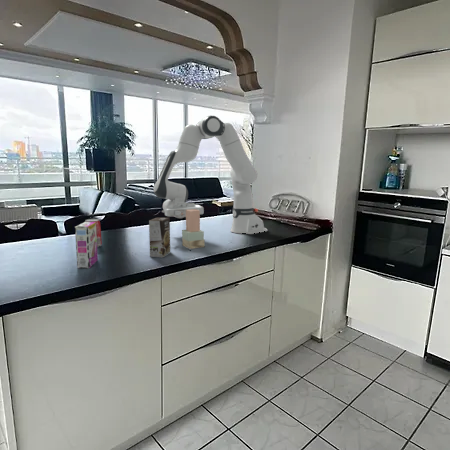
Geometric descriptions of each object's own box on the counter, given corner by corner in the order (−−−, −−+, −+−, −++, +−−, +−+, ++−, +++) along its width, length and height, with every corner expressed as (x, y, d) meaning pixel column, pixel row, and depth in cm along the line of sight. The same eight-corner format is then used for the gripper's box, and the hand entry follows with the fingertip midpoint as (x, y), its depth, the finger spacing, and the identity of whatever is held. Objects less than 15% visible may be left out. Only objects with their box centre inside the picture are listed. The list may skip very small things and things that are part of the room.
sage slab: (197, 236, 168) (197, 228, 168) (203, 239, 161) (203, 231, 161) (182, 237, 165) (182, 229, 164) (188, 241, 158) (188, 233, 157)
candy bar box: (90, 268, 128) (87, 226, 125) (77, 268, 128) (73, 226, 125) (98, 260, 139) (96, 221, 136) (86, 260, 139) (83, 221, 136)
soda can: (105, 245, 164) (103, 219, 161) (94, 248, 157) (93, 221, 155) (93, 244, 166) (91, 218, 163) (82, 247, 159) (80, 220, 157)
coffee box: (163, 257, 143) (162, 220, 140) (149, 256, 145) (148, 220, 142) (171, 252, 152) (170, 217, 149) (157, 251, 153) (156, 216, 150)
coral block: (195, 228, 166) (195, 208, 164) (199, 230, 161) (199, 210, 159) (186, 230, 163) (185, 209, 161) (190, 232, 159) (190, 211, 157)
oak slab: (197, 244, 169) (197, 236, 169) (204, 247, 163) (204, 239, 162) (182, 245, 165) (182, 238, 164) (189, 249, 158) (189, 241, 158)
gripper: (160, 204, 171) (170, 208, 160) (196, 202, 181) (208, 205, 170) (160, 217, 172) (170, 221, 161) (196, 214, 183) (208, 218, 171)
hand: (190, 213), depth 165 cm, fingers open, 8 cm apart
